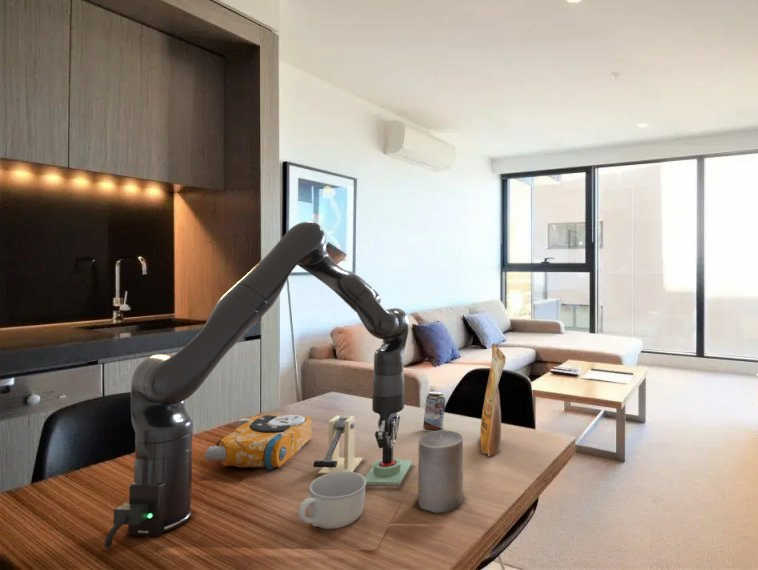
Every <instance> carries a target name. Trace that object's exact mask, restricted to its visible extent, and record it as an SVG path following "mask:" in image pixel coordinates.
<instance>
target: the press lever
mask: <svg viewBox="0 0 758 570" xmlns="http://www.w3.org/2000/svg"><path fill="white" fill-rule="evenodd" d="M347 419H348V417H340V418H339V419H338V421H337V423H336V426H335V428H336V434H335V436H334V438H333V440H332V443H331V445H330V447H329V446H328V450H327V452H326V454H325V456H324V458H323V460H321V459H320V460H317V459H315V460H314V461H313V468H323V467H336V466H337V461H330V460H331V457H332V455H333V453H334V450H335V448H336V446H337V443H338V441H339V442H340V439H341V436H342V434H345V421H346V420H347Z"/></svg>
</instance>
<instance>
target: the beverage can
mask: <svg viewBox="0 0 758 570" xmlns="http://www.w3.org/2000/svg"><path fill="white" fill-rule="evenodd" d="M424 405H425V406H424V417H423V427H422V428H423V429H424V430H425V431H426V432H434V431H442V430H443V427H444V418H445V407H446V395H445V392H443V391H432V390H431V391H428V392H427V395H425V404H424Z"/></svg>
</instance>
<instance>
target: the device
mask: <svg viewBox="0 0 758 570" xmlns="http://www.w3.org/2000/svg"><path fill="white" fill-rule="evenodd" d="M312 420H313V419H312V417H311V416H308V415H301V414H285V415H284V414H283V415H282V414H281V415H280V414H275V415H274V414H273V415H272V414H271V415H269V414H266V415H263V414H262V415H261V414H259V415H257V416H249V417H247V418H240V419H239V420H238V427H237V428H234V430H233V431H232V432H230V433H228V434H227V435H225V436H224V437H222V438H220V439H218V441H217V442H216V445H210V446H209V447H208V448H207V449H206V451H205V453H204V459H205V461H208V462H220V463H221V464H222V465H223V467H236V468H263V469H265V468H266V470H269V471H272V470H275V468H280V467H282V466H283V465H284V464H285V463H286V462H287V461H288V460H289V459H291V458H292V457H294V455H295V454H297V453H298V452H299V451H300V450H301V448H302V447H303V446H305V444H306V443H308V442H309V441H310V440H311V439H312Z"/></svg>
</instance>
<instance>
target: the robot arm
mask: <svg viewBox="0 0 758 570" xmlns="http://www.w3.org/2000/svg"><path fill="white" fill-rule="evenodd" d="M326 239H327V238H326V234H325V231H324V229H323V227H322V226H321V225H320V223H317V222H314V221H302V222H299V223H297V224H295V225H293V226H292V227H290V229H288V230H287V231H286V232H285V234H284V235H283V236H282V237H281V238H280V239H279V240H278V242H277V243H276V244H275V245H274V247H273V248H271V250H270V251H269V252H268V253H267V254H266V255H265V256H264V257H263V258H262V259H261V260H260V261H259V262H258V263H257V264H256V265H255V266H254V267H253V268H251V270H250V271H248V272H247V273H246V275H244V276H243V277H242V278H241V279H240V280H238V281H237V282H236V283H235V284H234V285H232V287H231V288H230V289H228V290H227V292H225V293H224V294H223V295H222V297H220V298H219V300H218V301H217V302H216V304H215V305H214V307H213V309H212V310H211V312H210V314H209V317H208V318H207V320H206V322H205V324H204V326H203V327H202V328H201V330H200V331H199V332H198V333H197V334H196V336H195V337H194V338H192V339H191V341H189V342H188V343H187V344H186V345H185V346H184V347H182V348H181V349H180V350H178V352H176V353H174V354H170V353H159V354H153V355H151V356H149V357H147V358H145V359H144V360H143V361H141V362H140V363H139V364H138V366H137V367H136V368H135V370H134V372H133V374H132V377H131V382H130V383H131V384H130V416H131V417H130V419H131V425H132V428H133V430H134V467H133V468H134V471H133V483H131V484H130V485H129V491H128V493H129V494H128V496H129V497H128V502H124V503H122V504H120V505H119V506H117V507H116V508H114V509H113V526H112V528H111V529H110V530H109V532H108V533H107V535H106V537H105V540H104V548H105V549H109V548H110V547H112V545H113V539H114V536H115V534H116V533H117V531H118V530H119V529H120V528H121V527H122V526H127V527H128V529H127V530H128V531H127V535H128V536H143V537H144V536H145V537H146V536H149V537H151V536H152V537H159V536H161V535H163V534H164V533H166V532H168V531H171V530H174V529H176V528H178V527H181V526H182V525H184V524H185V523H187V522H188V521H189V520H190V518H191V517H192V480H193V479H192V477H193V476H192V473H193V472H192V471H193V440H194V438H193V437H194V431H193V430H194V419H193V416H192V415H191V414H190V412H189V411H188V409H187V406H186V403H185V402H186V401H185V400H187V399H189V398H190V397H192V395H193V394H195V393H196V392H197V390H198V389H199V388H200V387H201V386H202V384H203V383H204V382H205V381H206V380H207V378H208V377H209V376H210V375H211V373H212V372H213V371H214V369H215V368H216V367H217V365H218V364H219V363H220V362H221V360H223V358H224V357H225V356H226V354H228V352H229V351H230V350H231V349H232V348H233V347H234V346H235V345H236V344H237V343H238V342H239V341H240V340H241V339H242V338H243V337H244V336H245V335H246V333H248V332H249V330H250V329H252V328H253V326H255V325H256V324H257V322H259V321H260V320H261V319H262V317H263V316H264V315H266V314H267V312H269V310H271V308H272V307H273V306H274V305H275V303H276V301H277V300H278V298H279V296H280V294H281V293H282V291H283V289H284V287H285V285H286V283H287V281H288V279H289V277H290V275H291V274H292V272H293V271H294V269H295V268H296V267H297V266H298V267H300V268H301V269H303V270H304V271H306V272H307V273H309V274H311V275H312V276H313V277H314V278H316V279H317V280H319V281H320V282H322V283H323V284H324V285H326V286H327V287H328V288H329V289H330V290H331V291H333V292H334V293H335V294H336V295H337V296H338V297H339V298H340V299H342V301H344V302H345V303H346V304H347V306H349V307H350V308H351V309H352V310H353V312H355V313H356V314H357V317H358V318H359V319H360V321H361V323H362V324H363V326H364V327H365V329H366V331H367V332H368V333H369V334H370V335H371V336H373V337H374V338H376V339H378V340H382V341H381V342H382V343H381V345H380V346H379V347H378V348H377V349H376V350H375V351H374V354H373V355H374V356H373V378H372V397H371V398H372V399H371V400H372V401H371V402H372V405H371V406H372V411H373V413H375V414H378V415H379V419H378V420H377V428H378V431H375V433H374V437H375V441H376V443H377V445H378V449H382V459H383V463H391V462H392V460H393V457H394V446H395V443H396V440H397V438H398V432H399V427H400V420H401V416H400V415H398V413H400V412H402V411H403V410H404V408H405V375H404V353H405V349H406V345H407V340H408V337H409V329H410V322H409V317H408V314H407V313H406V312H405V311H404V310H403V309H402V308H399V307H393V308H386V309H385V308H384V307H383V306H382V305H381V302H382V301H381V300H382V299H381V296H380V294H379V292H377V291H376V289H374V288H373V287H372V286H371V285H370V284H369V283H368V282H367V281H366V280H365V279H363V278H362V277H361V276H359V275H358V274H355V273H354V272H351V271H349V270H347V269H344V268H342V267H341V266H339V265H338V264H337V263H336V262H335V261H334V259H333V258H332V257H331V256H330V254H329V253H328V251H327V250H328V249H327V242H326V241H327V240H326Z"/></svg>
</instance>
